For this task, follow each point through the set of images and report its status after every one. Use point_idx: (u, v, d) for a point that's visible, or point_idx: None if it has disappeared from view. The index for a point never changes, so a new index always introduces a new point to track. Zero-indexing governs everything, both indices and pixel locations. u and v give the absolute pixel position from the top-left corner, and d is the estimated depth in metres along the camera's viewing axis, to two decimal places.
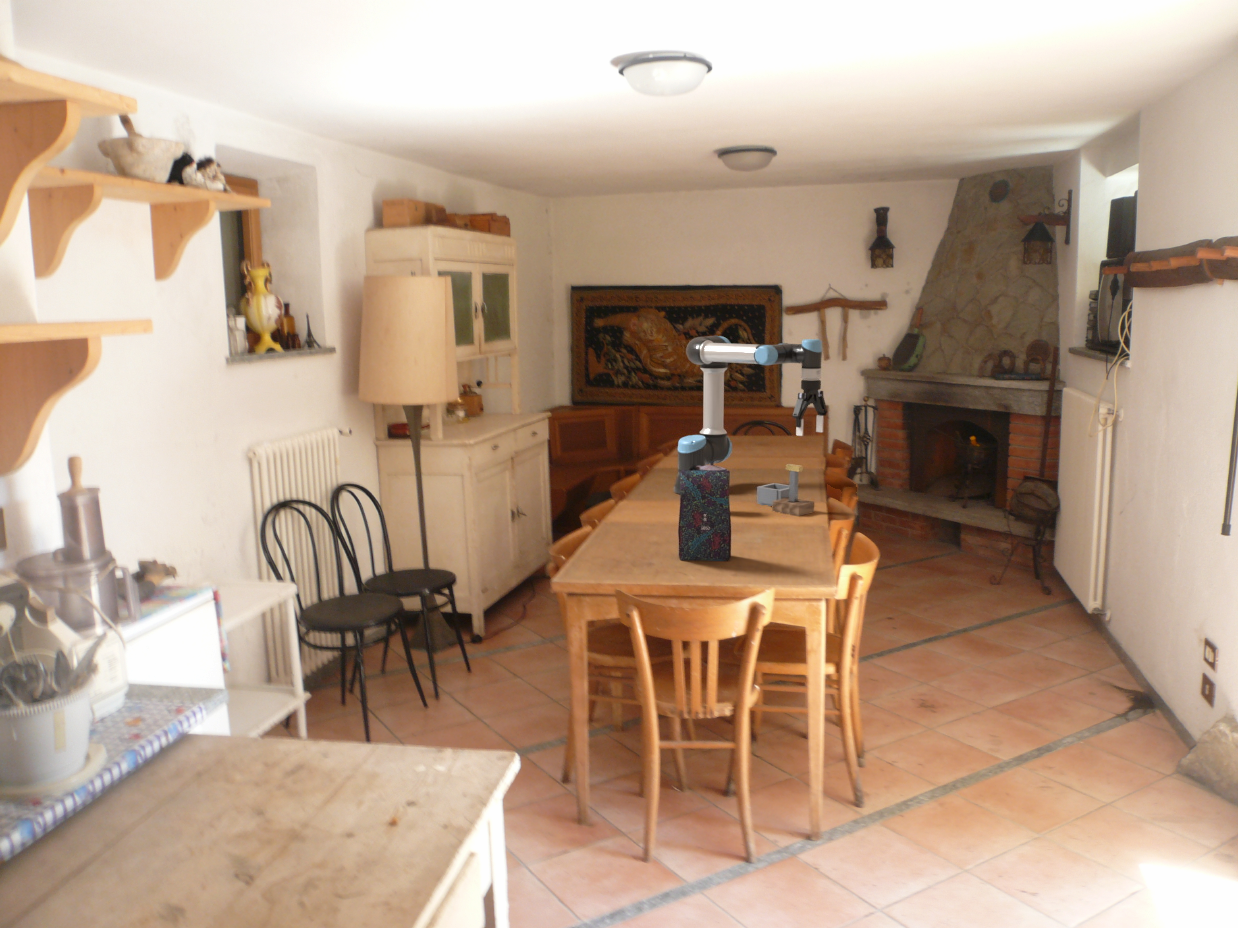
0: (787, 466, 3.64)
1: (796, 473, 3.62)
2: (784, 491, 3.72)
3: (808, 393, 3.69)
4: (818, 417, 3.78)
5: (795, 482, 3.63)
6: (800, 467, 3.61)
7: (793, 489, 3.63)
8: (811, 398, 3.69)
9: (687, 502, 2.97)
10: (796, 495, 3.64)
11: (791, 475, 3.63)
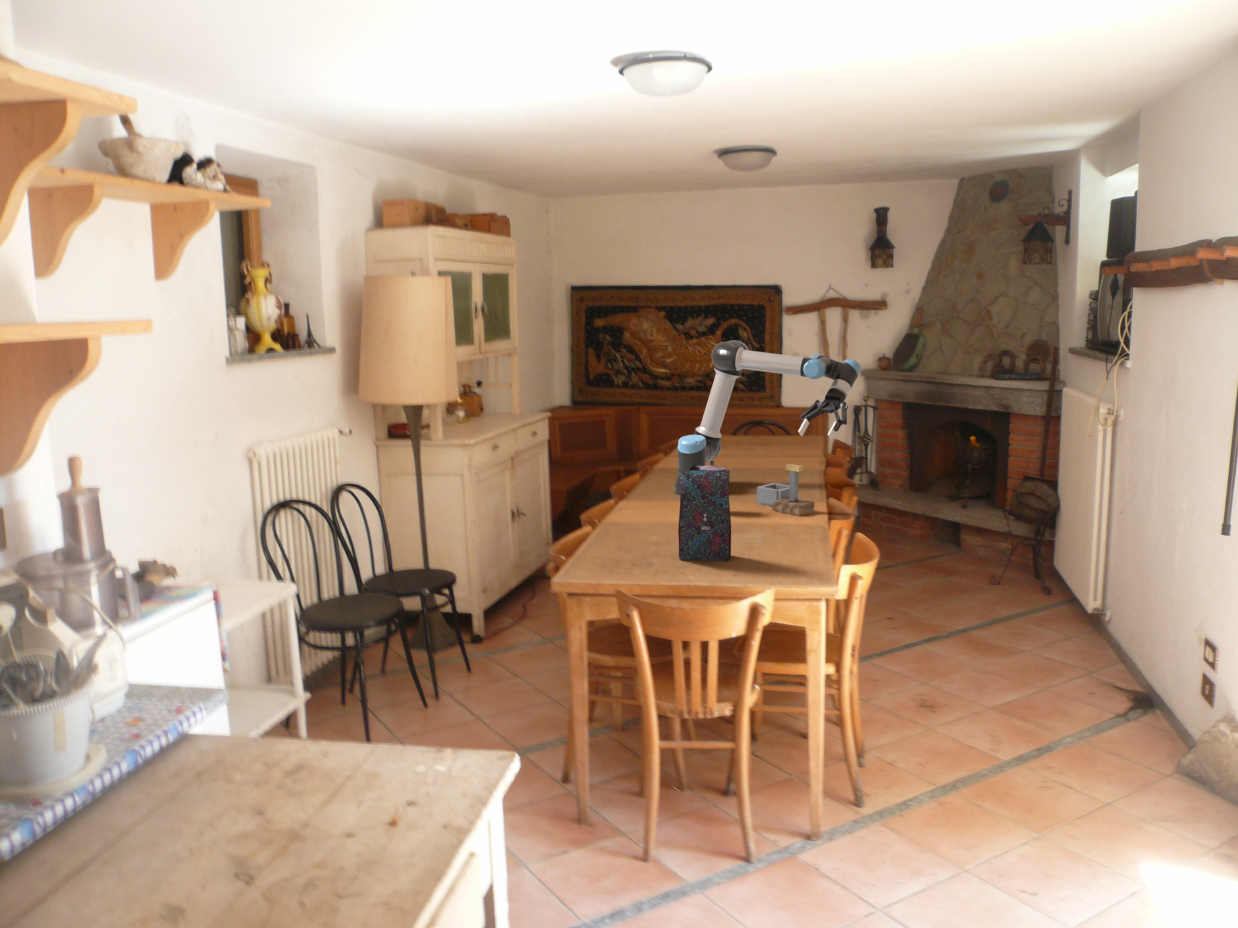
0: (787, 466, 3.64)
1: (796, 473, 3.62)
2: (784, 491, 3.72)
3: None
4: (806, 421, 3.77)
5: (795, 482, 3.63)
6: (800, 467, 3.61)
7: (793, 489, 3.63)
8: None
9: (687, 502, 2.97)
10: (796, 495, 3.64)
11: (791, 475, 3.63)
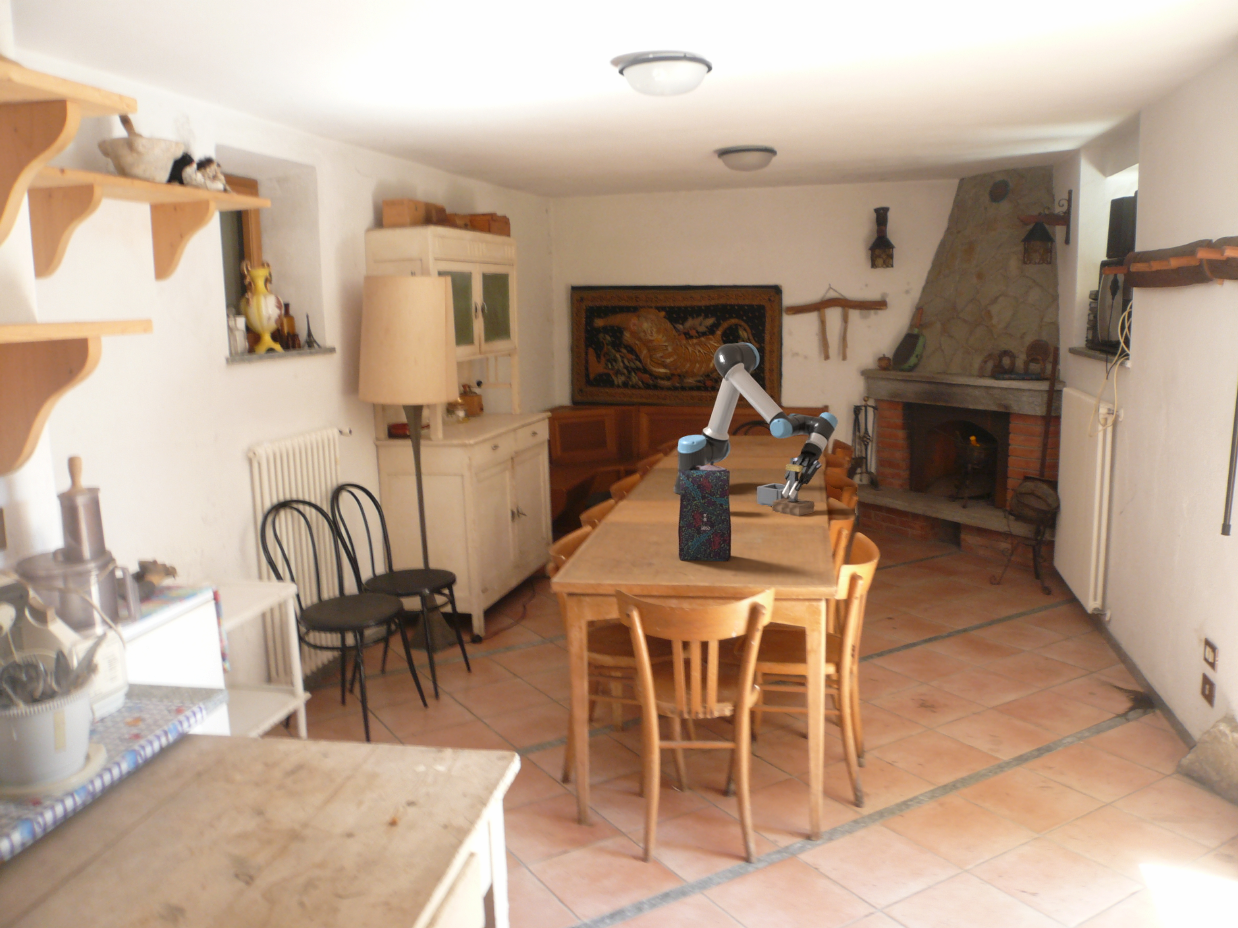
0: (787, 466, 3.64)
1: (796, 473, 3.62)
2: None
3: None
4: None
5: None
6: (800, 467, 3.61)
7: None
8: None
9: (687, 502, 2.97)
10: (796, 495, 3.64)
11: (791, 475, 3.63)
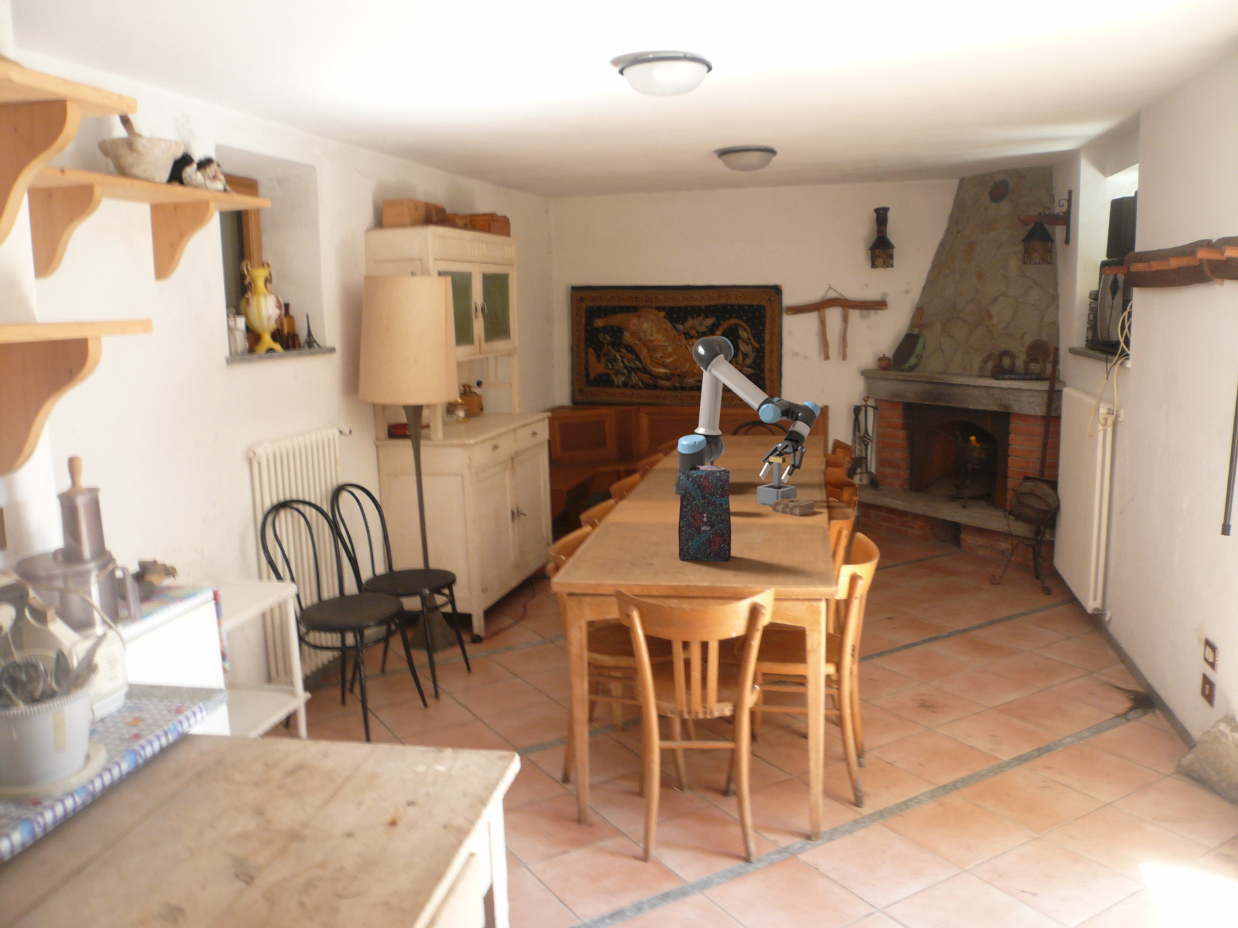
0: (771, 458, 3.77)
1: (779, 464, 3.76)
2: (784, 491, 3.72)
3: None
4: (768, 465, 3.81)
5: (778, 473, 3.76)
6: (783, 458, 3.74)
7: (776, 480, 3.76)
8: None
9: (687, 502, 2.97)
10: (779, 486, 3.77)
11: (774, 466, 3.76)
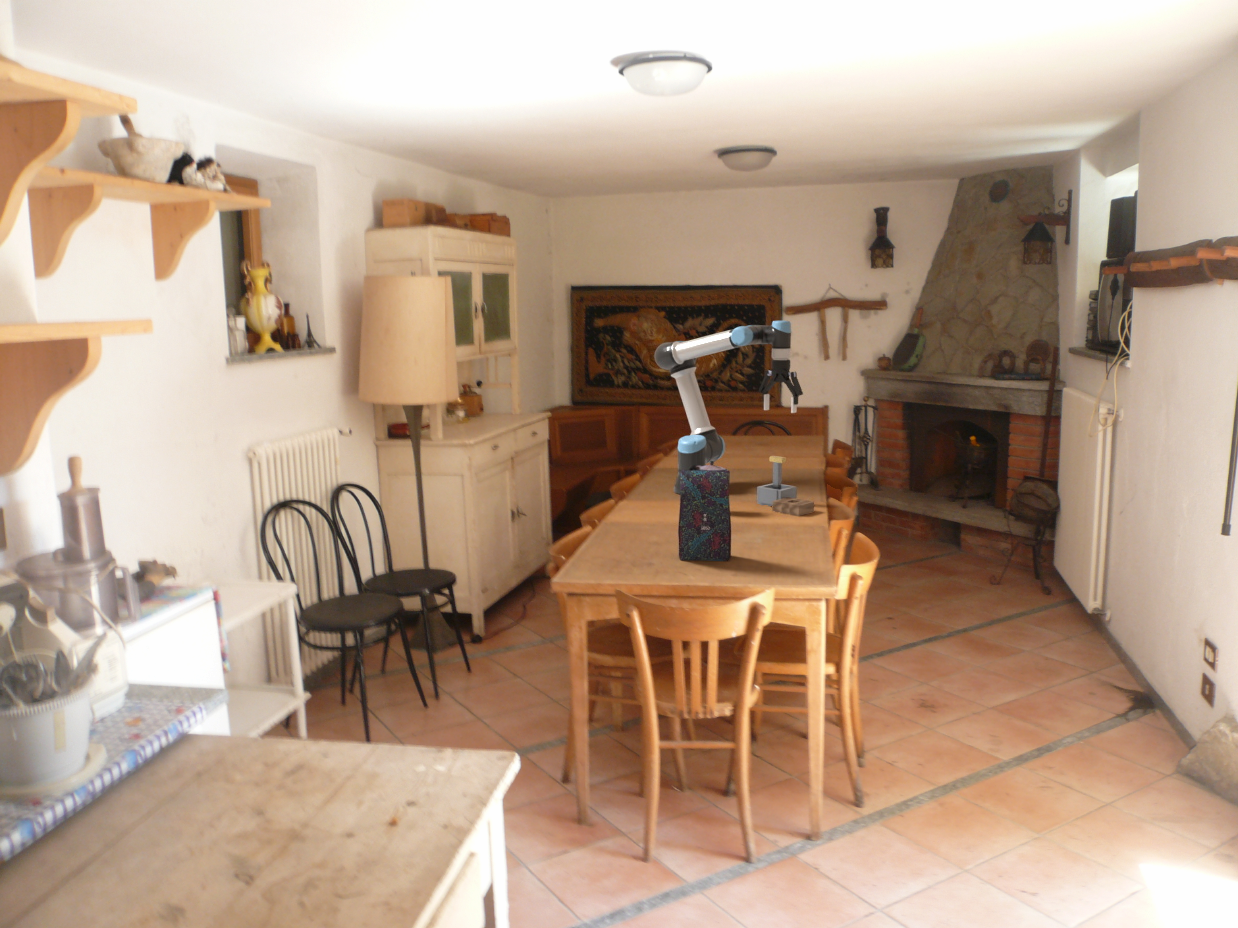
0: (771, 458, 3.77)
1: (779, 464, 3.76)
2: (784, 491, 3.72)
3: None
4: (766, 396, 3.95)
5: (778, 473, 3.76)
6: (783, 458, 3.74)
7: (776, 480, 3.76)
8: None
9: (687, 502, 2.97)
10: (779, 486, 3.77)
11: (774, 466, 3.76)
